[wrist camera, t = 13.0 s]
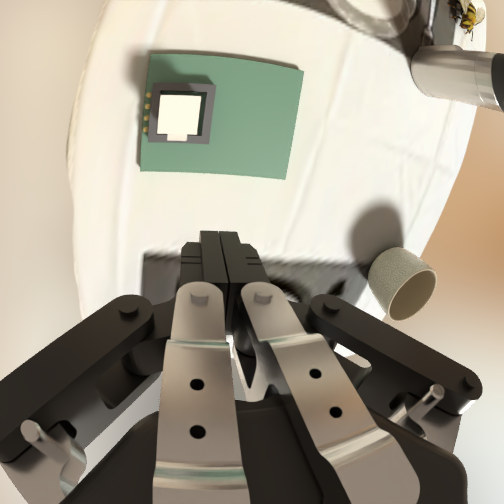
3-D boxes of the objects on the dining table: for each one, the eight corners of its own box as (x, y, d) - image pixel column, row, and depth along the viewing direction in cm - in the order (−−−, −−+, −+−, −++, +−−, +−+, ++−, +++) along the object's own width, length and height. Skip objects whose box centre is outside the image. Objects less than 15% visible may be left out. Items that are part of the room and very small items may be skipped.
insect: (437, 15, 25) (455, 13, 21) (444, -20, 19) (460, -23, 15) (468, 50, 29) (484, 51, 25) (474, 13, 23) (489, 13, 19)
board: (152, 55, 26) (148, 51, 23) (300, 72, 31) (309, 69, 28) (141, 169, 34) (137, 175, 31) (282, 177, 38) (289, 183, 36)
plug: (168, 97, 28) (160, 95, 22) (200, 98, 29) (201, 96, 23) (165, 133, 31) (156, 141, 24) (196, 134, 32) (196, 142, 25)
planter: (414, 241, 50) (446, 268, 41) (392, 288, 56) (418, 318, 47) (373, 236, 47) (407, 268, 38) (351, 289, 53) (377, 325, 44)
